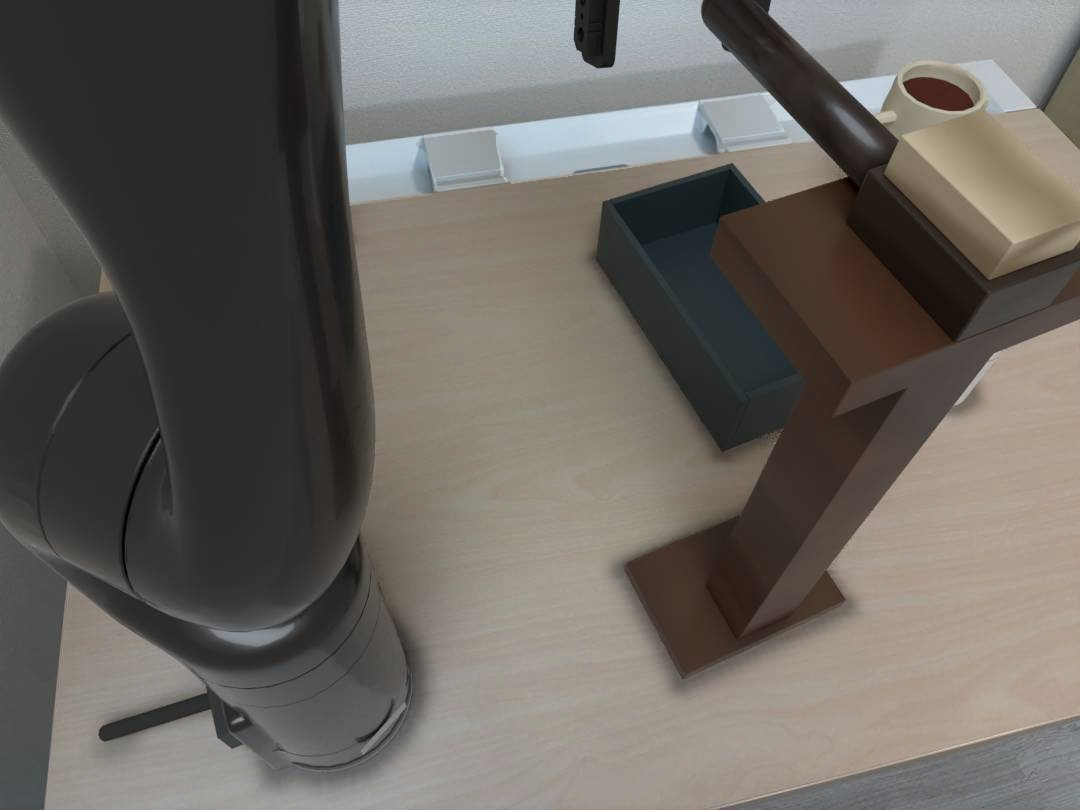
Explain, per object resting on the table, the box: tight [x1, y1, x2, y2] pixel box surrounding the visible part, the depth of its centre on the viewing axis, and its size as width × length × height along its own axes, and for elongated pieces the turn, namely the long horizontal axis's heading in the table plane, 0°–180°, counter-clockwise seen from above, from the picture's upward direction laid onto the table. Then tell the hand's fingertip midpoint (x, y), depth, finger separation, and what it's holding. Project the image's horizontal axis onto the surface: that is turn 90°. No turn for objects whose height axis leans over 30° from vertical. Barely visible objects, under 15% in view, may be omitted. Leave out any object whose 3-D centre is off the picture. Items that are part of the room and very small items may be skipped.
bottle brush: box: [700, 0, 1080, 342], centre depth 31 cm, size 4×19×4 cm, turn 24°
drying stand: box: [624, 176, 1080, 680], centre depth 43 cm, size 12×8×32 cm, turn 114°
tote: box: [595, 162, 806, 452], centre depth 66 cm, size 12×21×7 cm, turn 24°
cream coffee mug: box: [872, 59, 990, 140], centre depth 71 cm, size 11×7×13 cm, turn 106°
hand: (670, 58), depth 43 cm, fingers open, 8 cm apart
